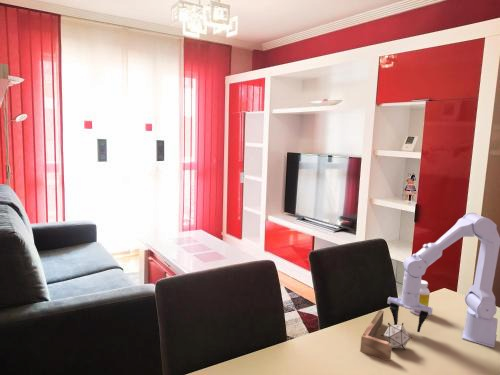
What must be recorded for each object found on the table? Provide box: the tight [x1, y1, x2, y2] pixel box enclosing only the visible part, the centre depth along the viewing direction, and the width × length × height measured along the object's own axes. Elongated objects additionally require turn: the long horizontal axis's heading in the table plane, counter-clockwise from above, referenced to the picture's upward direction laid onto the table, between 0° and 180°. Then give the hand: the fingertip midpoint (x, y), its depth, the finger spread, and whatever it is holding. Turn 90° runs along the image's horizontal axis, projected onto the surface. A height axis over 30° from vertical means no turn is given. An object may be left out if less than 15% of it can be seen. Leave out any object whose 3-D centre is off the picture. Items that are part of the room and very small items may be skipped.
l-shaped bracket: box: [359, 309, 393, 362], centre depth 127 cm, size 9×24×5 cm, turn 148°
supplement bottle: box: [408, 279, 431, 316], centre depth 148 cm, size 7×7×13 cm
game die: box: [380, 322, 414, 351], centre depth 122 cm, size 9×8×10 cm
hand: (407, 327), depth 133 cm, fingers open, 7 cm apart
